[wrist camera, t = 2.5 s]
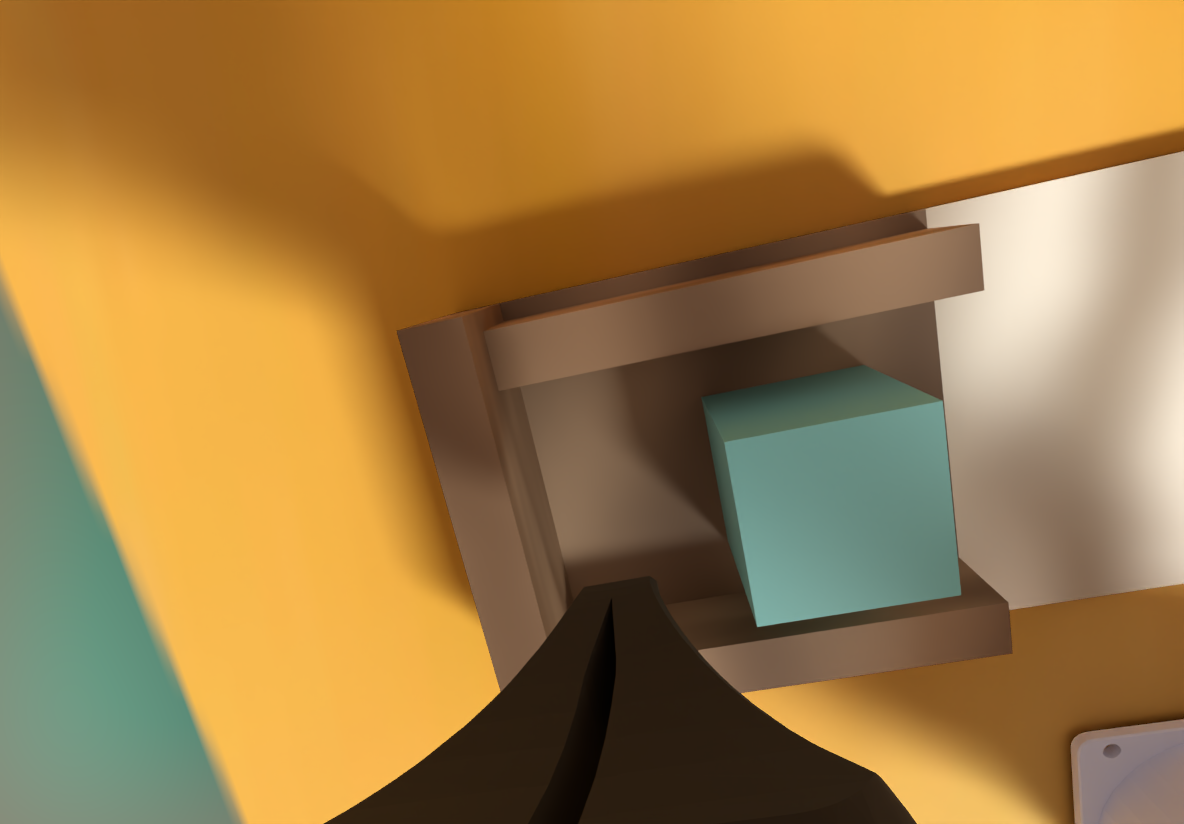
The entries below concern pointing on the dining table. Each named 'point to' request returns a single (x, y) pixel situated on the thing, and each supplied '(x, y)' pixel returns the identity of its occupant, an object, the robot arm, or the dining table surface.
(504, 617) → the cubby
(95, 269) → the dining table surface
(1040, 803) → the dining table surface
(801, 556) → the teal block
